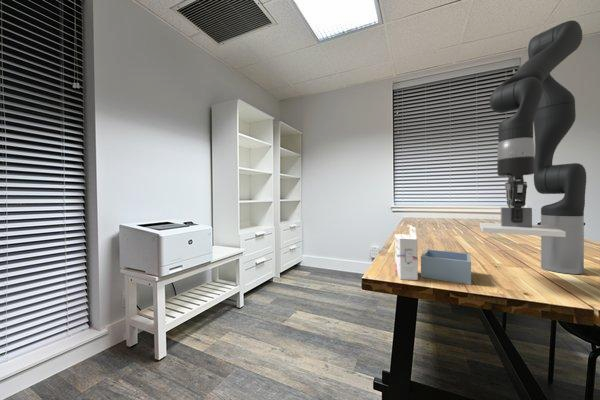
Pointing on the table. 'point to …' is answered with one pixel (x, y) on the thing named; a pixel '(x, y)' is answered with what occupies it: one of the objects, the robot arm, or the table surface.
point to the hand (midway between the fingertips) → (515, 221)
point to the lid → (520, 225)
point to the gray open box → (446, 266)
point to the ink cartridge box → (406, 255)
